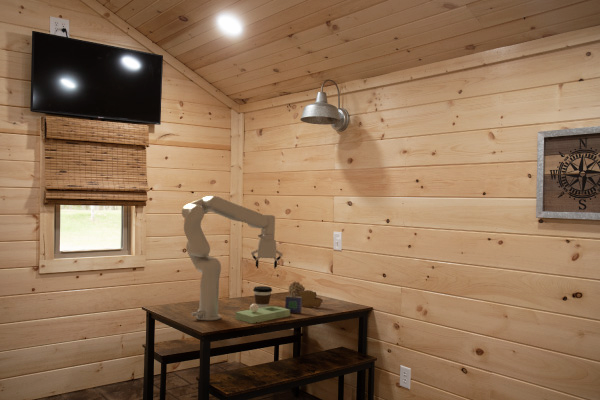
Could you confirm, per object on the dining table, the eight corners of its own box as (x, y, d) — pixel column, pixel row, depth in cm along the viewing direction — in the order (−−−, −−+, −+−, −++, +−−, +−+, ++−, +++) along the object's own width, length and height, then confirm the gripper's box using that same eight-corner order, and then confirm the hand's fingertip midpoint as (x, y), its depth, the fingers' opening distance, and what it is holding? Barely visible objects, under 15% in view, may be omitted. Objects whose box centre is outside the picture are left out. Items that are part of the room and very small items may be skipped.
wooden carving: (323, 307, 296) (323, 290, 296) (321, 309, 292) (322, 291, 292) (296, 305, 300) (296, 288, 300) (294, 306, 296) (294, 289, 296)
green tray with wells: (251, 323, 252) (251, 316, 252) (235, 318, 261) (235, 312, 261) (289, 315, 271) (290, 309, 271) (273, 311, 280) (273, 305, 281)
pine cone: (283, 295, 328) (284, 280, 329) (296, 294, 334) (296, 279, 334) (303, 302, 310) (303, 285, 310) (315, 300, 316) (316, 284, 316)
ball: (253, 313, 258) (253, 304, 258) (247, 312, 262) (248, 303, 262) (260, 312, 262) (260, 303, 262) (254, 311, 265) (254, 302, 265)
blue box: (301, 312, 280) (302, 293, 280) (300, 313, 277) (301, 294, 277) (285, 311, 282) (286, 292, 282) (284, 312, 279) (285, 293, 279)
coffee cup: (268, 311, 281) (269, 289, 281) (250, 310, 283) (250, 288, 283) (273, 307, 291) (274, 286, 291) (255, 306, 294) (256, 285, 294)
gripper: (251, 237, 274) (250, 268, 274) (283, 238, 276) (282, 269, 275) (251, 236, 281) (250, 266, 281) (282, 237, 283) (281, 267, 283)
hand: (266, 268), depth 278 cm, fingers open, 9 cm apart
